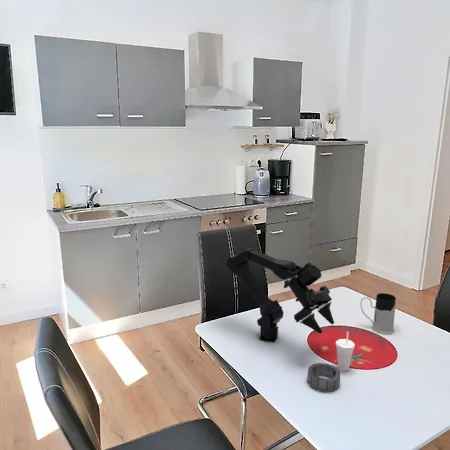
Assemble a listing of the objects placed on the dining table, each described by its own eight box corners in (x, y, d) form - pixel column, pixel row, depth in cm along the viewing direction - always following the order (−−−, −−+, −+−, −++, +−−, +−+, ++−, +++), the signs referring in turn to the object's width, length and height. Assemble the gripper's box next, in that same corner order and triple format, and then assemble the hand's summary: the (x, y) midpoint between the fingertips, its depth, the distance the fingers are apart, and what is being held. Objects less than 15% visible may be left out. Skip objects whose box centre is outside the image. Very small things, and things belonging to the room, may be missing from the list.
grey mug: (394, 336, 166) (398, 302, 163) (358, 331, 170) (361, 297, 167) (392, 326, 175) (396, 294, 171) (358, 322, 179) (361, 290, 175)
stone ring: (305, 388, 132) (306, 377, 131) (309, 371, 142) (310, 360, 141) (338, 394, 129) (339, 383, 128) (340, 376, 139) (341, 366, 138)
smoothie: (353, 374, 140) (356, 337, 137) (334, 372, 141) (337, 335, 138) (351, 364, 146) (354, 328, 143) (333, 362, 148) (336, 326, 144)
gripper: (302, 288, 138) (330, 327, 134) (328, 274, 152) (354, 309, 147) (282, 303, 145) (308, 341, 141) (309, 288, 159) (333, 323, 154)
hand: (327, 328), depth 145 cm, fingers open, 9 cm apart
